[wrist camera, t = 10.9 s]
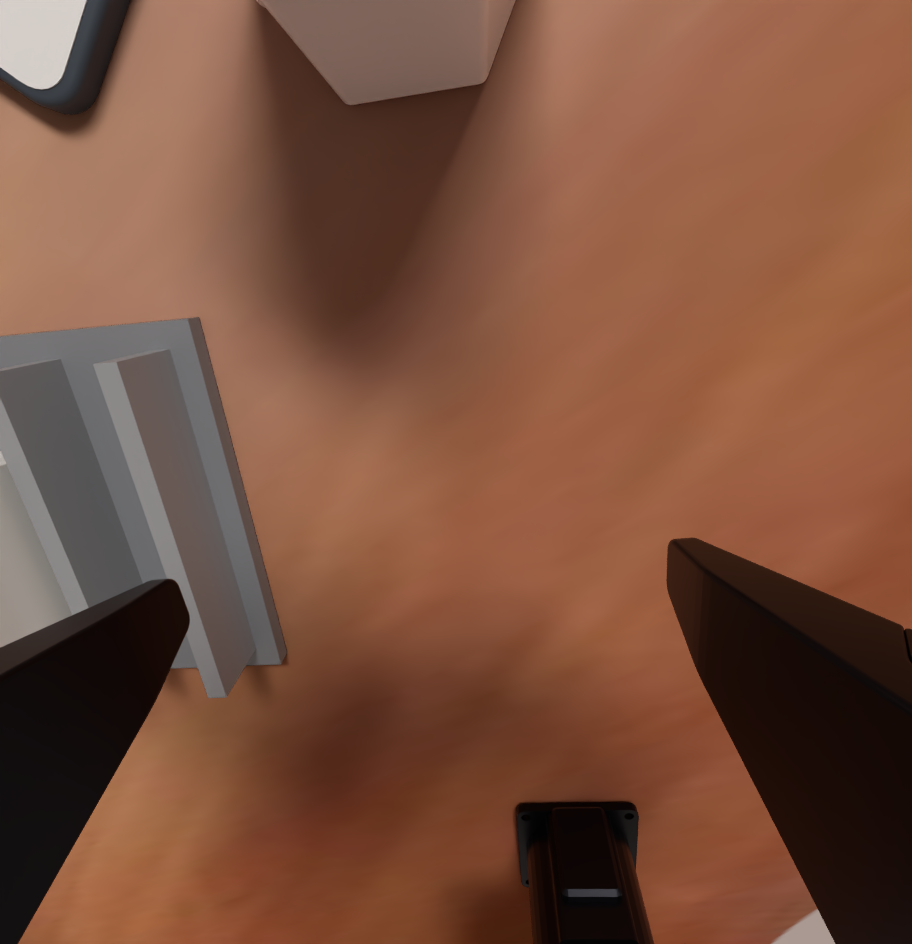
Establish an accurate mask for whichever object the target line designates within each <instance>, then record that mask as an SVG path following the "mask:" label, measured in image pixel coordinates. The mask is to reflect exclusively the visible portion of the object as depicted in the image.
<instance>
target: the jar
mask: <svg viewBox="0 0 912 944" xmlns="http://www.w3.org/2000/svg"><path fill="white" fill-rule="evenodd" d="M256 1H257V2H258V3H259V4H260V5H261V6H262V7H265V8H266V9H267V10H268V11H269V12H270V14H271V15H272V16H273V17H274V18H275V20H276V21H277V22H278V23H279V24H280V26H281V27H282V28H283V29H284V31H285V32H286V33H287V34H288V35H289V37H290V38H291V39H292V40H293V41H294V43H295V44H296V45H297V46H298V48H299V49H300V50H301V51H302V52H303V54H304V55H305V56H306V57H307V58H308V60H309V61H310V62H311V63H312V64H313V66H314V67H315V68H316V69H317V71H318V72H319V73H320V74H321V75H322V77H323V78H324V79H325V80H326V81H327V83H328V84H329V85H330V86H331V87H332V89H333V90H334V91H335V92H336V94H337V95H338V96H339V97H340V98H341V100H342V101H343V102H344V103H345V104H347V105H356V104H362V103H368V102H374V101H380V100H386V99H392V98H399V97H405V96H411V95H417V94H423V93H429V92H435V91H441V90H447V89H453V88H459V87H465V86H472V85H478V84H482V83H483V82H484V81H485V80H486V79H487V77H488V74H489V72H490V69H491V66H492V63H493V61H494V58H495V55H496V52H497V50H498V47H499V44H500V42H501V39H502V36H503V33H504V31H505V28H506V25H507V22H508V20H509V17H510V14H511V12H512V9H513V6H514V3H515V1H516V0H256Z"/></svg>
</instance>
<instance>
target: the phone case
mask: <svg viewBox="0 0 912 944" xmlns="http://www.w3.org/2000/svg"><path fill="white" fill-rule="evenodd" d="M129 2H130V0H0V79H1V80H2V81H4V82H5V83H7V84H8V85H10V86H11V87H13V88H14V89H15V90H17V91H18V92H20V93H21V94H23V95H24V96H26V97H27V98H28V99H30V100H31V101H33V102H35V103H37V104H38V105H41V106H43V107H46V108H49V109H52V110H54V111H57V112H60V113H63V114H70V115H72V114H79V113H81V112H84V111H86V110H87V109H88V108H90V107H91V105H92V104H93V103H94V102H95V100H96V98H97V96H98V93H99V90H100V87H101V84H102V81H103V79H104V76H105V73H106V70H107V67H108V64H109V61H110V58H111V55H112V52H113V49H114V46H115V43H116V40H117V37H118V35H119V32H120V29H121V26H122V23H123V20H124V17H125V14H126V11H127V8H128V5H129Z"/></svg>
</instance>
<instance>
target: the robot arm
mask: <svg viewBox="0 0 912 944" xmlns="http://www.w3.org/2000/svg"><path fill="white" fill-rule="evenodd" d="M667 589H668V593H669V597H670V599H671V602H672V605H673V607H674V610H675V613H676V616H677V618H678V621H679V624H680V627H681V629H682V632H683V635H684V637H685V640H686V643H687V646H688V648H689V651H690V654H691V656H692V659H693V662H694V664H695V667H696V669H697V672H698V674H699V676H700V678H701V680H702V682H703V684H704V686H705V688H706V690H707V692H708V694H709V696H710V698H711V700H712V702H713V704H714V706H715V708H716V710H717V712H718V714H719V716H720V718H721V720H722V722H723V724H724V726H725V728H726V730H727V731H728V733H729V735H730V737H731V739H732V741H733V743H734V745H735V747H736V749H737V751H738V753H739V755H740V757H741V759H742V761H743V763H744V765H745V767H746V769H747V771H748V773H749V775H750V777H751V779H752V781H753V783H754V785H755V786H756V788H757V790H758V792H759V794H760V796H761V798H762V800H763V802H764V804H765V806H766V808H767V810H768V812H769V814H770V816H771V818H772V820H773V822H774V824H775V826H776V828H777V830H778V832H779V834H780V836H781V838H782V839H783V841H784V843H785V845H786V847H787V849H788V851H789V853H790V855H791V857H792V859H793V861H794V863H795V865H796V867H797V869H798V871H799V873H800V875H801V877H802V879H803V881H804V883H805V885H806V887H807V889H808V891H809V893H810V894H811V896H812V898H813V900H814V902H815V904H816V906H817V908H818V910H819V912H820V914H821V916H822V918H823V919H824V922H825V924H826V926H827V928H828V930H829V932H830V934H831V936H832V938H833V940H834V942H835V944H912V629H905V630H904V628H903V626H902V625H900V624H897V623H895V622H892V621H890V620H888V619H885V618H883V617H881V616H878V615H876V614H874V613H871V612H869V611H866V610H864V609H862V608H859V607H857V606H855V605H852V604H850V603H848V602H845V601H843V600H841V599H838V598H836V597H833V596H831V595H829V594H826V593H824V592H822V591H819V590H817V589H815V588H812V587H810V586H807V585H805V584H803V583H800V582H798V581H796V580H793V579H791V578H789V577H786V576H784V575H782V574H779V573H777V572H774V571H772V570H770V569H767V568H765V567H763V566H760V565H758V564H756V563H753V562H751V561H749V560H746V559H744V558H741V557H739V556H737V555H734V554H732V553H730V552H727V551H725V550H723V549H720V548H718V547H716V546H713V545H711V544H708V543H706V542H704V541H701V540H699V539H697V538H682V539H673V540H671V541H670V542H669V545H668V555H667ZM189 625H190V615H189V612H188V609H187V606H186V604H185V601H184V598H183V595H182V593H181V590H180V587H179V585H178V583H177V582H176V581H175V580H173V579H156V580H150V581H147V582H145V583H143V584H141V585H138V586H136V587H134V588H132V589H129V590H127V591H125V592H123V593H121V594H118V595H116V596H114V597H112V598H109V599H107V600H105V601H103V602H101V603H98V604H96V605H94V606H92V607H89V608H87V609H85V610H83V611H81V612H78V613H76V614H74V615H72V616H69V617H67V618H65V619H63V620H60V621H58V622H56V623H54V624H52V625H49V626H47V627H45V628H43V629H40V630H38V631H36V632H34V633H32V634H29V635H27V636H25V637H23V638H20V639H18V640H16V641H14V642H12V643H9V644H7V645H5V646H3V647H0V944H18V943H19V941H20V939H21V937H22V935H23V934H24V932H25V930H26V928H27V927H28V925H29V923H30V921H31V920H32V918H33V916H34V914H35V913H36V911H37V909H38V907H39V906H40V904H41V902H42V900H43V899H44V897H45V895H46V893H47V892H48V890H49V888H50V886H51V885H52V883H53V881H54V879H55V878H56V876H57V874H58V872H59V870H60V869H61V867H62V865H63V863H64V862H65V860H66V858H67V856H68V855H69V853H70V851H71V849H72V848H73V846H74V844H75V842H76V841H77V839H78V837H79V835H80V834H81V832H82V830H83V828H84V827H85V825H86V823H87V821H88V820H89V818H90V816H91V814H92V812H93V811H94V809H95V807H96V805H97V804H98V802H99V800H100V798H101V797H102V795H103V793H104V791H105V790H106V788H107V786H108V784H109V783H110V781H111V779H112V777H113V776H114V774H115V772H116V770H117V769H118V767H119V765H120V763H121V762H122V760H123V758H124V756H125V754H126V753H127V751H128V749H129V747H130V746H131V744H132V742H133V740H134V739H135V737H136V735H137V733H138V732H139V730H140V728H141V726H142V725H143V723H144V721H145V719H146V718H147V716H148V714H149V712H150V710H151V708H152V707H153V705H154V703H155V701H156V699H157V697H158V695H159V693H160V691H161V688H162V686H163V684H164V682H165V680H166V677H167V675H168V673H169V671H170V669H171V666H172V664H173V662H174V660H175V657H176V655H177V653H178V651H179V649H180V646H181V644H182V642H183V640H184V638H185V635H186V633H187V631H188V628H189ZM516 811H517V826H518V841H519V855H520V869H521V882H522V884H523V885H524V886H525V887H529V894H530V907H531V921H532V935H533V944H654V941H653V937H652V934H651V930H650V926H649V922H648V918H647V914H646V910H645V906H644V902H643V898H642V894H641V890H640V886H639V882H638V878H637V874H636V855H637V837H638V819H639V816H638V812H637V808H636V806H635V805H634V804H632V803H575V804H523V805H520V806H519V807H518V808H517V810H516Z"/></svg>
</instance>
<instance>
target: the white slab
mask: <svg viewBox="0 0 912 944" xmlns="http://www.w3.org/2000/svg"><path fill="white" fill-rule="evenodd" d="M69 616H72V613H71V610H70V608H69V606H68V604H67V601H66V599H65V597H64V594H63V592H62V590H61V588H60V585H59V583H58V581H57V578H56V576H55V574H54V572H53V569H52V567H51V565H50V562H49V560H48V558H47V556H46V553H45V551H44V549H43V546H42V544H41V542H40V540H39V537H38V535H37V533H36V530H35V528H34V526H33V524H32V521H31V519H30V517H29V514H28V512H27V510H26V508H25V505H24V503H23V501H22V498H21V496H20V494H19V492H18V489H17V487H16V485H15V482H14V480H13V478H12V475H11V473H10V471H9V469H8V466H7V464H6V462H5V459H4V457H3V455H2V453H1V451H0V647H3V646H5V645H7V644H9V643H12V642H14V641H16V640H18V639H20V638H23V637H25V636H27V635H29V634H32V633H34V632H36V631H38V630H40V629H43V628H45V627H47V626H49V625H52V624H54V623H56V622H58V621H60V620H63V619H65V618H67V617H69Z"/></svg>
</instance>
